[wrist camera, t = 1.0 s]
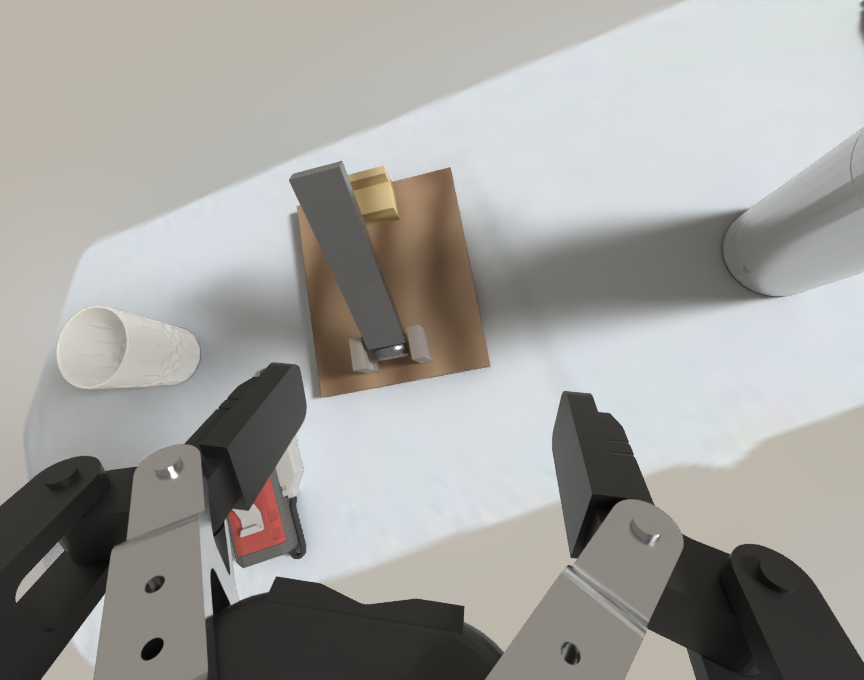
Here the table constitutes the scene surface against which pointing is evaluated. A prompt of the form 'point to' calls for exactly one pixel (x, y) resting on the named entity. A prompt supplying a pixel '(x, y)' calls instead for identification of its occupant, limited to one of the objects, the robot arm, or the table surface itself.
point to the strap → (351, 257)
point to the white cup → (123, 350)
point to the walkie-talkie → (271, 515)
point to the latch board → (400, 286)
